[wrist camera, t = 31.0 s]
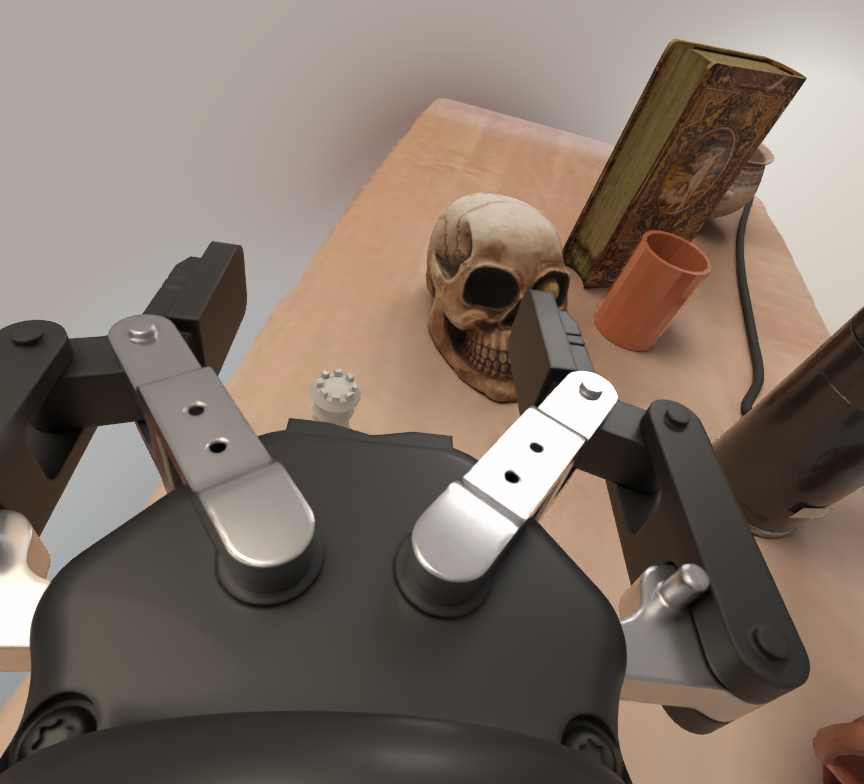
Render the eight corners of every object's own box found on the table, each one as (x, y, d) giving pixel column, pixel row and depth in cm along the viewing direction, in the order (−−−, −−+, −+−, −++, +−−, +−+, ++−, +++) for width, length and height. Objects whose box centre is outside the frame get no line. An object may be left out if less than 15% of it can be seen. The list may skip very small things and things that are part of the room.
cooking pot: (610, 159, 95) (647, 88, 86) (704, 189, 97) (749, 122, 88) (632, 228, 78) (680, 148, 69) (745, 263, 80) (806, 189, 71)
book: (645, 254, 74) (772, 58, 56) (670, 279, 71) (813, 80, 53) (556, 261, 66) (669, 37, 48) (580, 289, 63) (711, 61, 45)
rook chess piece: (283, 442, 39) (288, 369, 33) (335, 422, 41) (349, 350, 35) (312, 489, 37) (323, 420, 31) (365, 464, 39) (385, 396, 33)
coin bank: (508, 415, 46) (562, 284, 37) (366, 321, 52) (383, 190, 43) (583, 347, 56) (639, 231, 47) (457, 275, 63) (485, 161, 54)
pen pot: (613, 300, 63) (661, 224, 56) (664, 336, 61) (722, 262, 53) (582, 320, 59) (630, 240, 51) (635, 360, 56) (695, 283, 49)
